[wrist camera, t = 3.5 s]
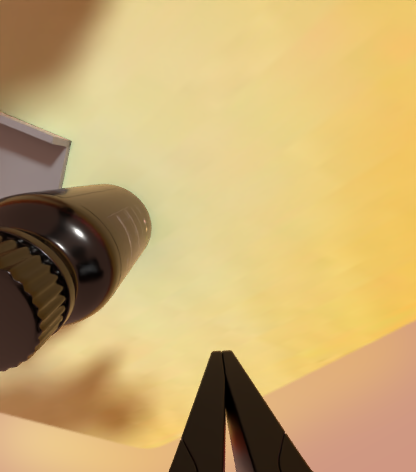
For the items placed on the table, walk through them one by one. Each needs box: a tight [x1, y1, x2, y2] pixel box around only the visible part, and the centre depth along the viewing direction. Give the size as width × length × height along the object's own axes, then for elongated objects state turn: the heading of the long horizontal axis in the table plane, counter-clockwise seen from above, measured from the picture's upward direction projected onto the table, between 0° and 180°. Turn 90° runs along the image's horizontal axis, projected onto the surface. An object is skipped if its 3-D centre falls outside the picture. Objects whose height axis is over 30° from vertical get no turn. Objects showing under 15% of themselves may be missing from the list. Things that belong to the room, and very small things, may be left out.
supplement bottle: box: [0, 184, 151, 371], centre depth 12 cm, size 7×7×12 cm
